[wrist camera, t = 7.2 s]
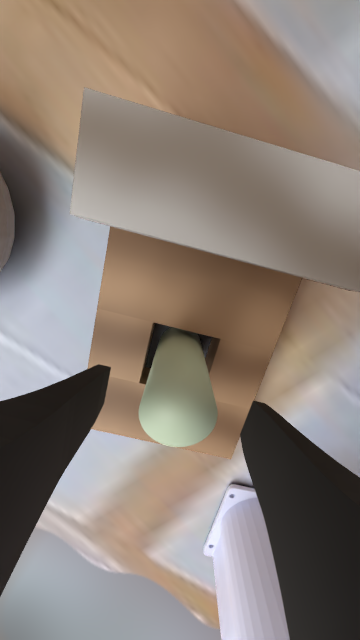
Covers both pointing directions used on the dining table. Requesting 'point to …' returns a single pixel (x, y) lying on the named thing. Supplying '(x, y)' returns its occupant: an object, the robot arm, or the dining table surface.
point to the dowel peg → (178, 392)
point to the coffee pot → (6, 223)
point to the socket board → (192, 309)
